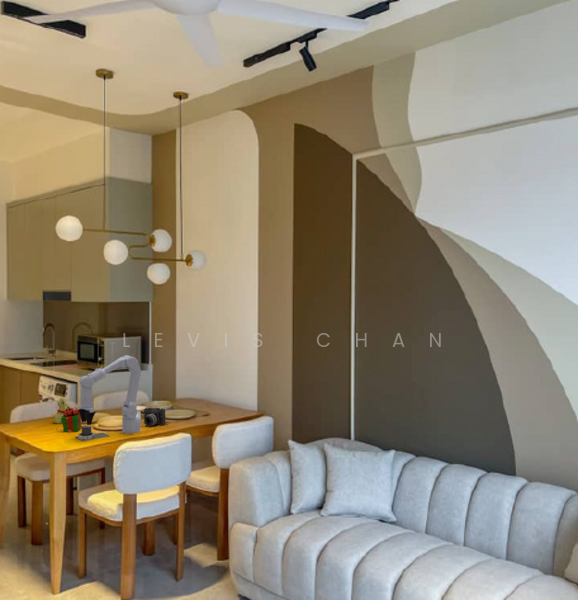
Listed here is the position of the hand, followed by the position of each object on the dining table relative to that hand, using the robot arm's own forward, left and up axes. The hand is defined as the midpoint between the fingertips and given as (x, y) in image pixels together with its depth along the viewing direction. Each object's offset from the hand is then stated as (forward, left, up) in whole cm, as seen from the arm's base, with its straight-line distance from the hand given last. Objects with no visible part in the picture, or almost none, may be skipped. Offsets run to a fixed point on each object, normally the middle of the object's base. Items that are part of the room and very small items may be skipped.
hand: (86, 423), depth 320 cm
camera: (-43, -8, -9) cm, 45 cm away
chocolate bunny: (-3, -47, -9) cm, 48 cm away
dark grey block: (0, 0, -8) cm, 8 cm away
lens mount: (-3, 0, -9) cm, 10 cm away
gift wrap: (+2, -20, -9) cm, 22 cm away
